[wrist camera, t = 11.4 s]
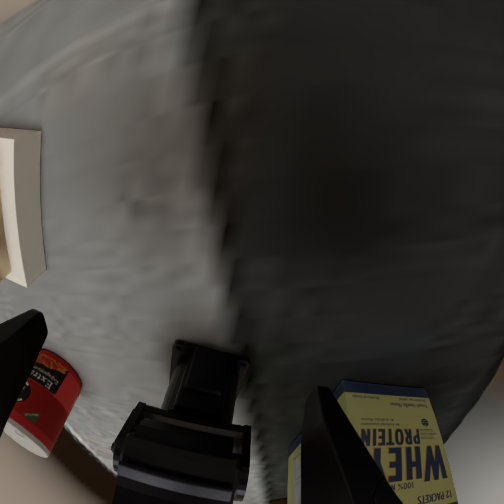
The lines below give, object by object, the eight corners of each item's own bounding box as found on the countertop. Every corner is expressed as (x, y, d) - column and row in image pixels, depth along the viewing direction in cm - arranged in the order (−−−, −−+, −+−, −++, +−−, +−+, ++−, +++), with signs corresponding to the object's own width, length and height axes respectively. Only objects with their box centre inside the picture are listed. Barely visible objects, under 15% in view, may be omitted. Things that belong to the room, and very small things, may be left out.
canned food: (71, 356, 28) (26, 433, 18) (91, 398, 32) (59, 466, 22) (25, 340, 28) (-21, 404, 19) (47, 382, 32) (12, 441, 22)
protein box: (427, 385, 26) (464, 516, 12) (359, 452, 33) (367, 552, 19) (341, 376, 25) (358, 541, 12) (286, 447, 33) (281, 558, 19)
